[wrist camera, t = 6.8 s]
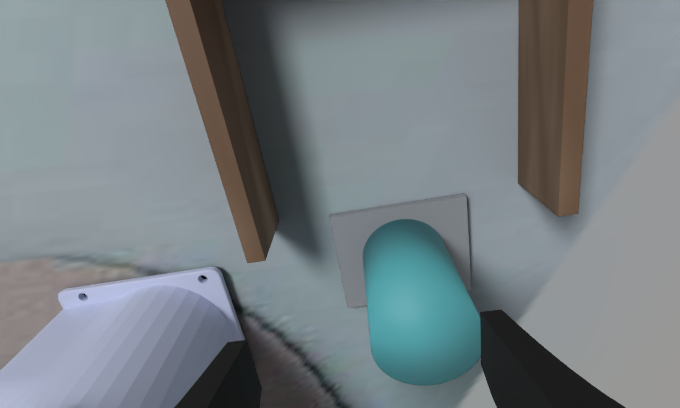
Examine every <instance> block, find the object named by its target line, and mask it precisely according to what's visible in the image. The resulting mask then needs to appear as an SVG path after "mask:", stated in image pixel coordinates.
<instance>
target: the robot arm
mask: <svg viewBox="0 0 680 408" xmlns="http://www.w3.org/2000/svg"><path fill="white" fill-rule="evenodd" d="M201 275H204V276H206V277H207V279H203V278H201ZM83 293H84V294H86V295H87V296H88V297H87V296H85V295H84V294H83ZM58 300H59V302H60V304H61V305H62V307H63V310H62V311H61V312H60V313H59V314H58V315H57V316H56V317H55V318H54V319H53V320H52V321H51V322H50V323H49V324H48V325H47V326H46V327H45V328H43V329H42V330H41V331H40V332H39V333H38V334H37V335H36V336H35V337H34V338H33V339H32V340H31V341H30V342H29V343H28V344H27V345H26V346H25V347H24V348H23V349H22V350H21V351H20V352H19V353H18V354H17V355H16V356H15V357H14V358H13V359H12V360H11V361H10V362H9V363H8V364H7V365H6V366H5V367H4V368H3V369H2V370H1V371H0V408H259V406H260V397H261V389H262V388H261V384H260V381H259V378H258V375H257V372H256V369H255V365H254V362H253V359H252V356H251V353H250V349H249V346H248V343H247V340H245V338H244V335H243V332H242V330H241V327H240V324H239V321H238V318H237V315H236V312H235V309H234V306H233V303H232V301H231V298H230V295H229V292H228V289H227V286H226V283H225V280H224V277H223V275H222V272H221V271H220V270H219V269H218V268H216V267H207V268H200V269H194V270H187V271H180V272H174V273H167V274H160V275H154V276H147V277H140V278H134V279H127V280H120V281H114V282H107V283H100V284H94V285H87V286H80V287H74V288H67V289H64V290H63V291H62V292H60V293H59V295H58ZM480 326H481V365H482V368H483V371H484V374H485V377H486V380H487V383H488V386H489V389H490V391H491V395H492V397H493V399H494V402H495V404H496V406H497V408H625V407H624V406H622V405H621V404H619V403H618V402H616V401H615V400H613V399H611V398H610V397H608V396H607V395H605V394H604V393H602V392H601V391H600V390H598V389H597V388H595V387H594V386H593V385H591V384H590V383H588V382H587V381H586V380H585V379H583V378H582V377H581V376H579V375H578V374H577V373H575V372H574V371H573V370H571V369H570V368H569V367H567V366H566V365H565V364H564V363H562V362H561V361H560V360H559V359H558V358H556V357H555V356H554V355H553V354H551V353H550V352H549V351H548V350H547V349H545V348H544V347H543V346H542V345H541V344H539V343H538V342H537V341H536V340H535V339H534V338H532V337H531V336H530V335H529V334H528V333H527V332H526V331H525V330H523V329H522V328H521V327H520V326H519V325H518V324H517V323H516V322H515V321H513V320H512V319H511V318H510V317H509V316H508V315H507V314H506V313H505V312H503V311H502V310H494V311H486V312H480Z"/></svg>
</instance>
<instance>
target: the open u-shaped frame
mask: <svg viewBox="0 0 680 408" xmlns="http://www.w3.org/2000/svg"><path fill="white" fill-rule="evenodd" d="M165 1H166V4H167V7H168V10H169V14H170V17H171V20H172V23H173V26H174V30H175V33H176V36H177V39H178V42H179V46H180V49H181V52H182V55H183V58H184V62H185V65H186V68H187V71H188V74H189V78H190V81H191V84H192V87H193V91H194V94H195V97H196V100H197V103H198V107H199V110H200V113H201V116H202V119H203V123H204V126H205V129H206V132H207V135H208V139H209V142H210V145H211V148H212V151H213V155H214V158H215V161H216V164H217V167H218V171H219V174H220V177H221V180H222V183H223V187H224V190H225V193H226V196H227V200H228V203H229V206H230V209H231V212H232V216H233V219H234V222H235V225H236V228H237V232H238V235H239V238H240V241H241V244H242V248H243V251H244V254H245V257H246V260H247V263H252V262H259V261H265V260H266V257H267V254H268V251H269V248H270V245H271V242H272V239H273V236H274V234H275V231H276V228H277V225H278V222H279V219H278V215H277V211H276V207H275V204H274V200H273V196H272V192H271V188H270V184H269V181H268V177H267V173H266V169H265V165H264V162H263V158H262V154H261V150H260V146H259V143H258V139H257V135H256V131H255V127H254V123H253V120H252V116H251V112H250V108H249V104H248V101H247V97H246V93H245V89H244V85H243V81H242V78H241V74H240V70H239V66H238V62H237V59H236V55H235V51H234V47H233V43H232V39H231V36H230V32H229V28H228V24H227V20H226V17H225V13H224V9H223V5H222V1H221V0H165ZM592 10H593V0H519V81H518V183H519V184H520V185H521V186H522V187H523V188H525V189H526V190H527V191H528V192H529V193H531V194H532V195H533V196H534V197H535V198H537V199H538V200H539V201H540V202H541V203H543V204H544V205H545V206H546V207H547V208H549V209H550V210H551V211H552V212H553V213H555V214H556V215H557V216H558V217H559V216H565V215H572V214H578V210H579V196H580V182H581V167H582V153H583V139H584V124H585V110H586V96H587V81H588V67H589V53H590V39H591V24H592Z"/></svg>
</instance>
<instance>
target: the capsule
mask: <svg viewBox="0 0 680 408" xmlns="http://www.w3.org/2000/svg"><path fill="white" fill-rule="evenodd" d="M363 267H364V278H365V288H366V299H367V310H368V321H369V332H370V343H371V351H372V355H373V358H374V360H375V362H376V363H377V365H378V366H379V367H380V369H381V370H382V371H383V372H385V373H386V374H387V375H389V376H390V377H392V378H394V379H396V380H398V381H400V382H403V383H407V384H412V385H435V384H441V383H444V382H448V381H450V380H453V379H455V378H457V377H459V376H461V375H462V374H464V373H465V372H467V371H468V370H469V369H470V368H471V367H472V366H473V365H474V364H475V363H476V362H477V361H478V359H479V358H480V356H481V326H480V316H479V314H478V312H477V310H476V308H475V306H474V304H473V302H472V300H471V298H470V296H469V294H468V292H467V290H466V287H465V285H464V283H463V281H462V279H461V277H460V275H459V273H458V271H457V269H456V267H455V265H454V263H453V261H452V259H451V257H450V255H449V253H448V251H447V249H446V247H445V245H444V243H443V241H442V239H441V237H440V235H439V234H438V232H437V231H436V230H435V229H434V228H432V227H431V226H429V225H428V224H426V223H424V222H421V221H418V220H413V219H399V220H394V221H391V222H388V223H386V224H384V225H382V226H381V227H379V228H378V229H376V230H375V231H374V232H373V233H372V234H371V235H370V237H369V238H368V240H367V242H366V243H365V246H364V250H363Z"/></svg>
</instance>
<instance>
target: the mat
mask: <svg viewBox="0 0 680 408" xmlns="http://www.w3.org/2000/svg"><path fill="white" fill-rule="evenodd" d="M329 218H330V223H331V228H332V233H333V238H334V243H335V248H336V253H337V257H338V262H339V267H340V272H341V277H342V282H343V287H344V292H345V296H346V301H347V306H348V308H353V307H360V306H367V299H366V288H365V278H364V267H363V250H364V246H365V243H366V242H367V240H368V238H369V237H370V235H371V234H372V233H373V232H374V231H375V230H376V229H378V228H379V227H381V226H382V225H384V224H386V223H388V222H391V221H394V220H399V219H413V220H418V221H421V222H424V223H426V224H428V225H429V226H431V227H432V228H434V229H435V230H436V231H437V232H438V234H439V235H440V237H441V239H442V241H443V243H444V245H445V247H446V249H447V251H448V253H449V255H450V257H451V259H452V261H453V263H454V265H455V267H456V269H457V271H458V273H459V275H460V277H461V279H462V281H463V283H464V285H465V287H466V290H467V292H468V291H471V272H470V252H469V233H468V214H467V196H466V195H465V194H464V193H463V194H457V195H450V196H444V197H438V198H431V199H425V200H418V201H412V202H406V203H399V204H393V205H387V206H380V207H374V208H368V209H361V210H355V211H348V212H342V213H336V214H330V216H329Z"/></svg>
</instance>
